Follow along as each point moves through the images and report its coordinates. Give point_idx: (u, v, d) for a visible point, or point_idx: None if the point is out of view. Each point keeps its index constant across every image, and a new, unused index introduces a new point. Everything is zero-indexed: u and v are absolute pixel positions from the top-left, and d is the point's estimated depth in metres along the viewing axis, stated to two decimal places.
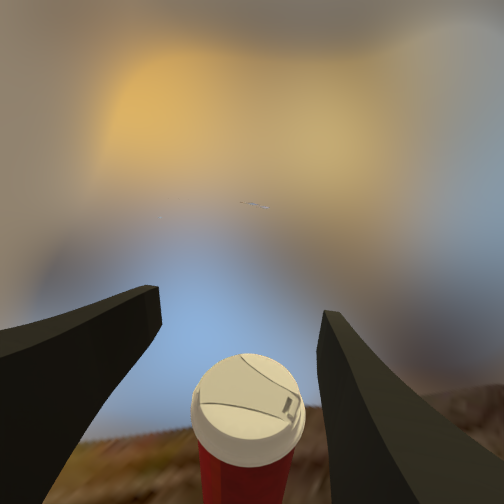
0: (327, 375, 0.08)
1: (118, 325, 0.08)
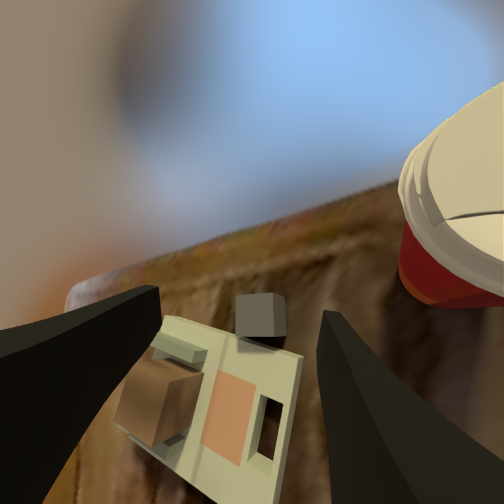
0: (327, 375, 0.08)
1: (118, 325, 0.08)
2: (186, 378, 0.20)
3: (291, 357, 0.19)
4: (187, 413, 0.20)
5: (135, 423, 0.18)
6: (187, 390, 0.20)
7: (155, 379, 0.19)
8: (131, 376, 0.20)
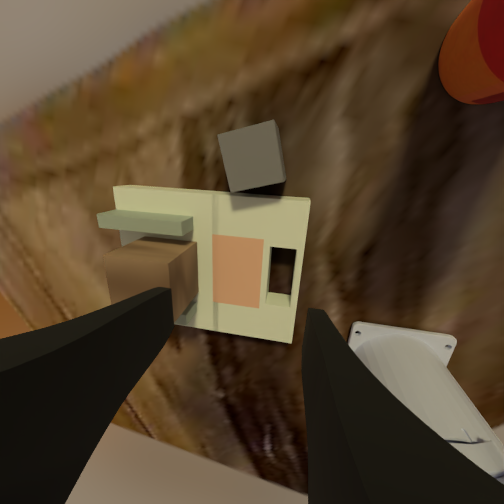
0: (308, 372, 0.08)
1: (134, 328, 0.08)
2: (183, 253, 0.16)
3: (302, 201, 0.16)
4: (193, 283, 0.19)
5: None
6: (187, 264, 0.17)
7: (146, 265, 0.15)
8: (111, 269, 0.15)
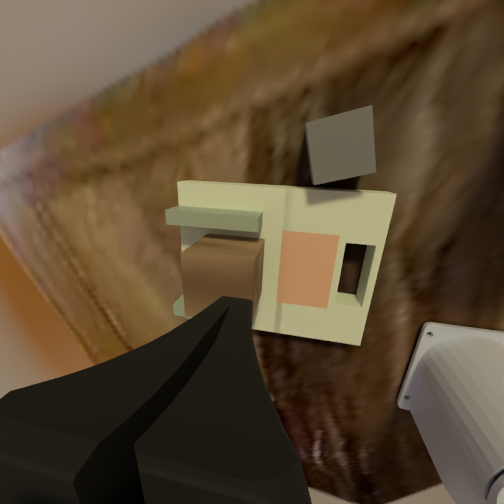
0: None
1: (215, 342, 0.08)
2: (259, 250, 0.16)
3: (386, 194, 0.15)
4: (260, 282, 0.18)
5: None
6: (260, 262, 0.16)
7: (229, 263, 0.14)
8: (188, 268, 0.15)
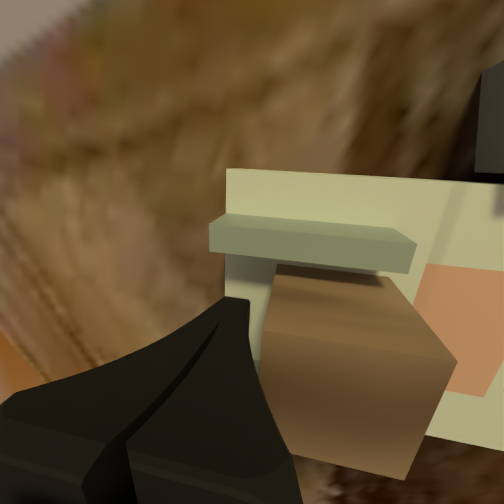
0: None
1: None
2: (415, 313, 0.07)
3: None
4: None
5: (334, 447, 0.07)
6: None
7: (386, 361, 0.06)
8: (277, 361, 0.06)
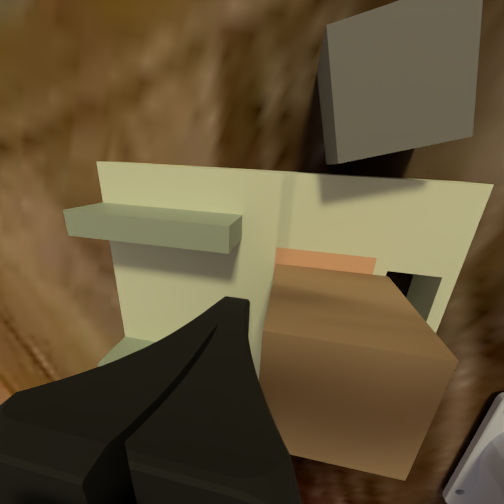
0: None
1: None
2: (414, 312, 0.07)
3: (473, 185, 0.08)
4: None
5: (334, 447, 0.07)
6: None
7: (387, 361, 0.06)
8: (277, 362, 0.06)
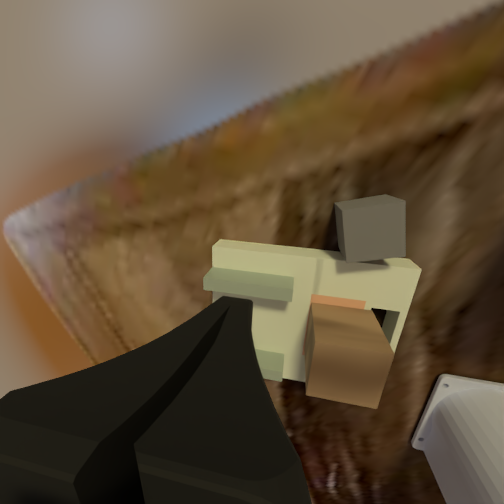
0: None
1: (215, 342, 0.08)
2: (382, 332, 0.16)
3: (412, 269, 0.16)
4: None
5: (344, 394, 0.15)
6: None
7: (367, 354, 0.14)
8: (320, 354, 0.15)
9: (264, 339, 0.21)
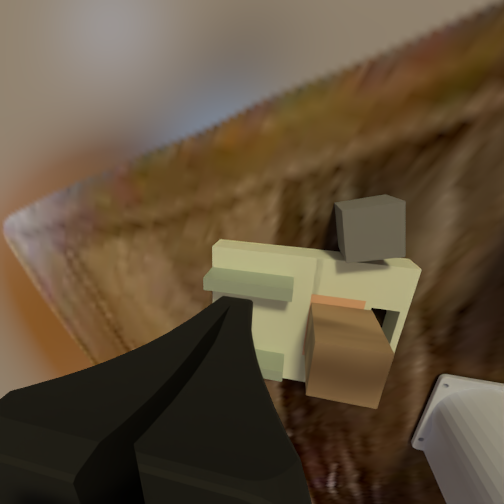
0: None
1: (215, 342, 0.08)
2: (382, 332, 0.16)
3: (412, 269, 0.16)
4: None
5: (344, 394, 0.15)
6: None
7: (367, 354, 0.14)
8: (320, 354, 0.15)
9: (264, 339, 0.21)
